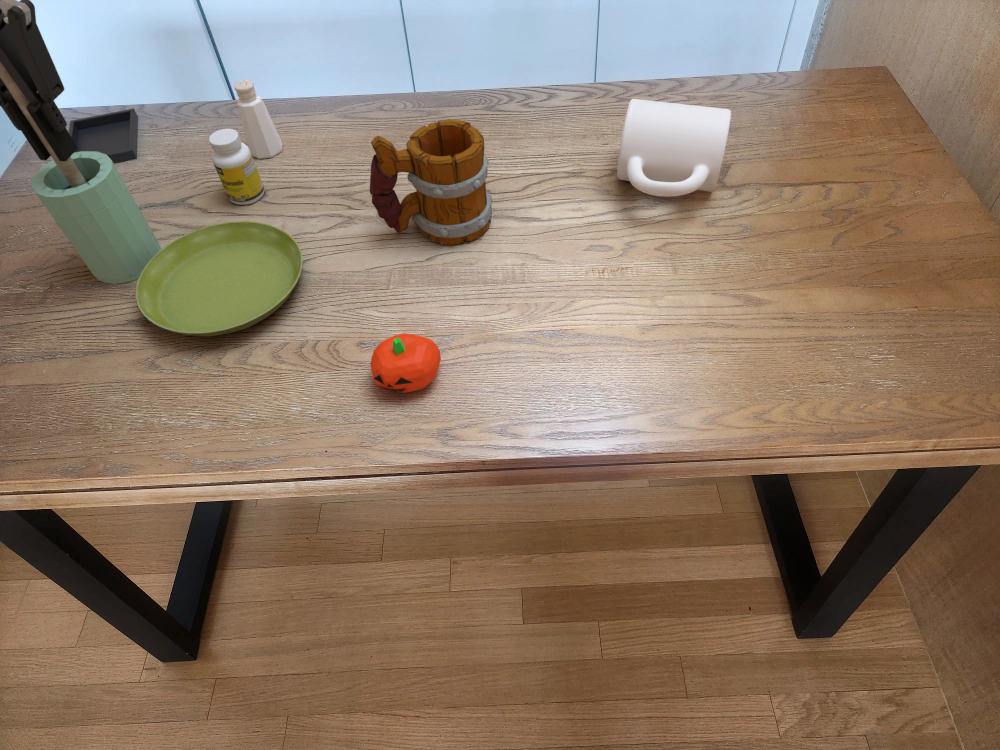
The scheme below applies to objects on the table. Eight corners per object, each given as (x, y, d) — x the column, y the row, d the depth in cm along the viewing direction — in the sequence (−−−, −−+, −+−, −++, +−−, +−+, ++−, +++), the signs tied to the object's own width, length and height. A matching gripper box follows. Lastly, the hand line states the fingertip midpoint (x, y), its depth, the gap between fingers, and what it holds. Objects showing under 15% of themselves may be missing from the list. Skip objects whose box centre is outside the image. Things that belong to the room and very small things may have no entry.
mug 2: (625, 151, 102) (634, 83, 94) (716, 163, 100) (734, 93, 91) (607, 218, 93) (614, 149, 84) (707, 232, 90) (725, 163, 81)
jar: (90, 290, 88) (27, 204, 77) (94, 247, 93) (35, 160, 82) (162, 274, 89) (110, 186, 78) (161, 232, 95) (113, 144, 84)
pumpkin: (451, 388, 75) (445, 352, 70) (383, 410, 74) (372, 374, 69) (433, 344, 79) (426, 306, 74) (368, 364, 78) (357, 327, 73)
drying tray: (138, 161, 106) (132, 150, 104) (70, 175, 104) (63, 164, 102) (139, 119, 114) (133, 108, 112) (76, 131, 112) (70, 120, 110)
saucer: (258, 365, 78) (249, 348, 76) (113, 331, 83) (100, 314, 80) (335, 252, 90) (329, 233, 88) (204, 227, 95) (195, 209, 92)
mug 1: (505, 235, 91) (501, 137, 79) (388, 263, 89) (366, 166, 77) (482, 190, 98) (475, 93, 86) (372, 215, 95) (350, 119, 83)
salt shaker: (255, 163, 104) (230, 97, 95) (245, 147, 107) (220, 81, 98) (288, 152, 106) (266, 86, 97) (277, 136, 109) (255, 70, 100)
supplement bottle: (221, 201, 98) (195, 143, 91) (243, 181, 101) (219, 122, 94) (251, 209, 97) (227, 150, 89) (272, 188, 100) (251, 129, 92)
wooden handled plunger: (86, 246, 87) (-37, 66, 68) (104, 224, 89) (-10, 44, 71) (119, 249, 86) (4, 68, 67) (136, 226, 89) (30, 46, 70)
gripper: (-192, -62, 58) (-17, 169, 77) (-40, -60, 56) (101, 176, 75) (-130, -93, 63) (20, 133, 81) (12, -91, 61) (133, 139, 79)
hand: (59, 153), depth 78 cm, fingers closed on wooden handled plunger, 2 cm apart
